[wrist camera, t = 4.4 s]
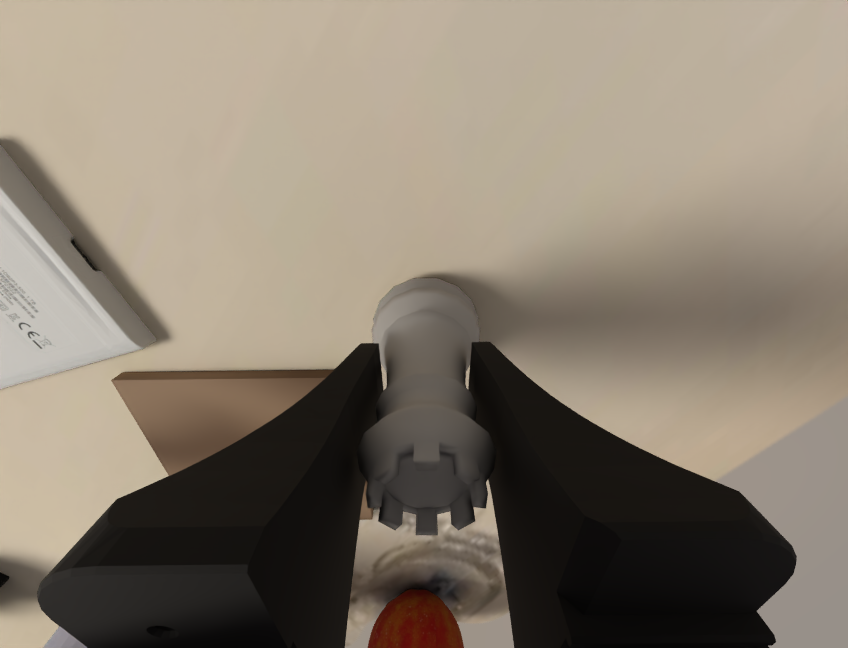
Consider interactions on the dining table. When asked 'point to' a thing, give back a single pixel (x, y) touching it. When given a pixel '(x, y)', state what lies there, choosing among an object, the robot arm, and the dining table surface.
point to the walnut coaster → (210, 409)
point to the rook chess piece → (426, 410)
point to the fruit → (416, 623)
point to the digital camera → (3, 579)
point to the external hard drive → (52, 292)
